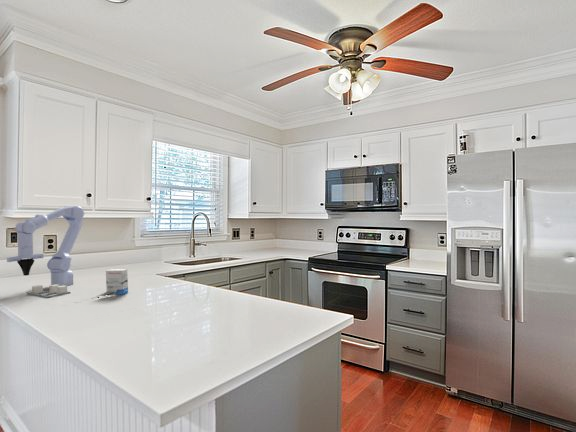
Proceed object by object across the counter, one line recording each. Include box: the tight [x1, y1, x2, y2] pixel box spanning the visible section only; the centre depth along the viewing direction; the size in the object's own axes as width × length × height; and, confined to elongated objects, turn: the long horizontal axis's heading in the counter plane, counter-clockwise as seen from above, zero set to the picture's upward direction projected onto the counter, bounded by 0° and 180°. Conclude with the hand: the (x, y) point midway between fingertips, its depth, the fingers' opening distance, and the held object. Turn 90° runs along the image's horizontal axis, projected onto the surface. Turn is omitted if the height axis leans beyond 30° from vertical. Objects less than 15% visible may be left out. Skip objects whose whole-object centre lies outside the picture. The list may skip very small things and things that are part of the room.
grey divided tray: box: [27, 288, 71, 299], centre depth 163 cm, size 10×17×2 cm, turn 62°
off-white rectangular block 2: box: [57, 285, 68, 294], centre depth 163 cm, size 3×3×4 cm
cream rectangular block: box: [49, 284, 60, 293], centre depth 166 cm, size 3×3×4 cm
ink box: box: [105, 268, 129, 296], centre depth 168 cm, size 9×5×12 cm, turn 84°
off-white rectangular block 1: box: [31, 284, 44, 293], centre depth 164 cm, size 3×3×4 cm
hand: (26, 275), depth 165 cm, fingers closed
